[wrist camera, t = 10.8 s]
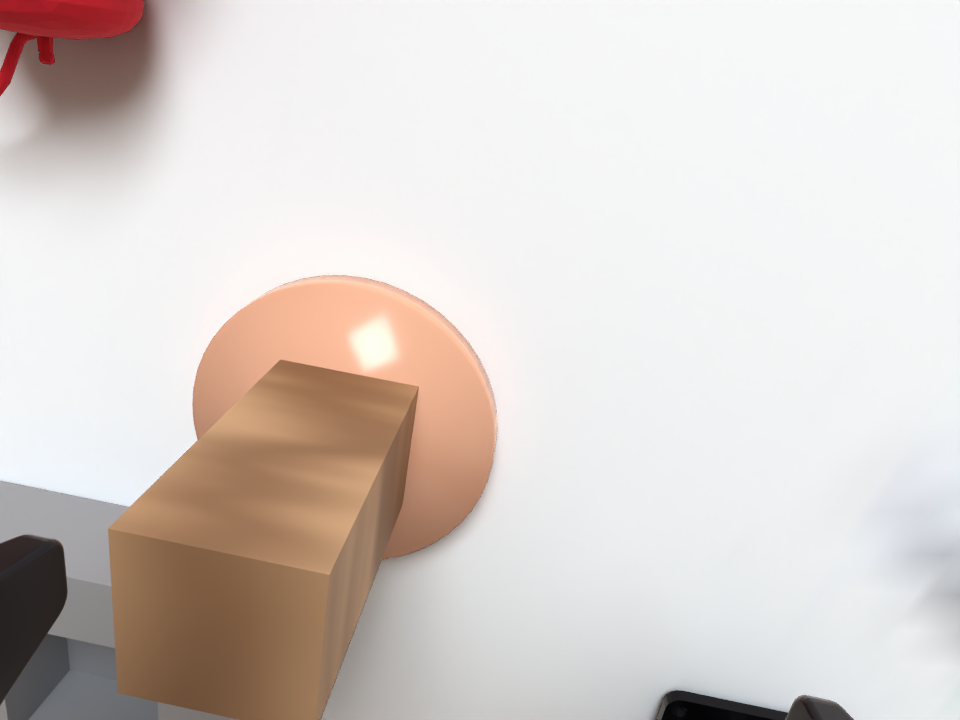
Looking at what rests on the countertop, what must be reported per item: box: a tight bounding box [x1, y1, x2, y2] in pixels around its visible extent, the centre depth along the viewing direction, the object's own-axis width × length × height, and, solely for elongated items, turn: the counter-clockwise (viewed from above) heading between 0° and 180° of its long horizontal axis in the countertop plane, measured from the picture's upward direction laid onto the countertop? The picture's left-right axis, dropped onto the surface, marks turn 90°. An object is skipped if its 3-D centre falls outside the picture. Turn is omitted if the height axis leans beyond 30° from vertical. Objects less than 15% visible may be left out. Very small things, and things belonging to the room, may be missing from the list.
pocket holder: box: [0, 481, 238, 720], centre depth 24 cm, size 10×10×4 cm
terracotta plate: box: [193, 275, 497, 559], centre depth 21 cm, size 9×9×1 cm
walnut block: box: [108, 359, 419, 720], centre depth 16 cm, size 4×4×8 cm
